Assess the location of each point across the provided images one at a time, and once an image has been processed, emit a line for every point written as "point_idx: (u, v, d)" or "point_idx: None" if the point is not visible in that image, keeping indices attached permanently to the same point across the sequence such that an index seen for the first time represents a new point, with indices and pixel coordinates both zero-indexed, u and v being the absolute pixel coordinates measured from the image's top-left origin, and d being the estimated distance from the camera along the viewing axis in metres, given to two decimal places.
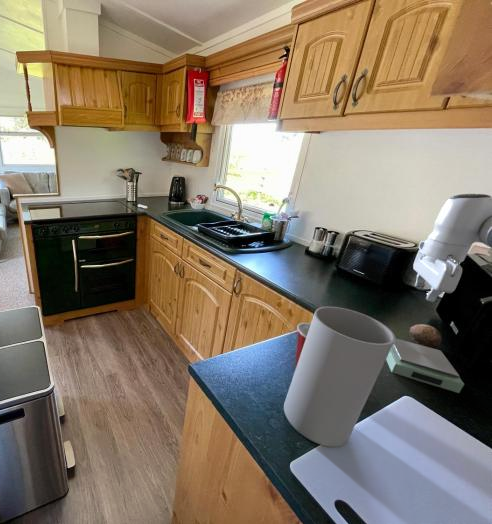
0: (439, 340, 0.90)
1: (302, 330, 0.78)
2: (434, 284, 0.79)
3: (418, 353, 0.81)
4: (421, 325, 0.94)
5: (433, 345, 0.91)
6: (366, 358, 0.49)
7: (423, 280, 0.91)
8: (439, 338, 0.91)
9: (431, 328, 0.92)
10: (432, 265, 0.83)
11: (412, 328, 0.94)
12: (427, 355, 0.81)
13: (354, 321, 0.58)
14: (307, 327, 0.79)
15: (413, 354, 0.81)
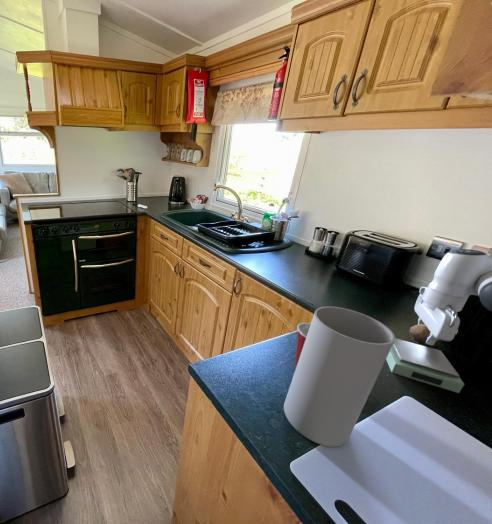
0: (439, 340, 0.90)
1: (302, 330, 0.78)
2: (434, 332, 0.86)
3: (418, 353, 0.81)
4: (421, 325, 0.94)
5: (433, 345, 0.91)
6: (366, 358, 0.49)
7: (424, 324, 0.96)
8: None
9: None
10: (432, 312, 0.90)
11: (412, 328, 0.94)
12: (427, 355, 0.81)
13: (354, 321, 0.59)
14: (307, 327, 0.79)
15: (413, 354, 0.81)
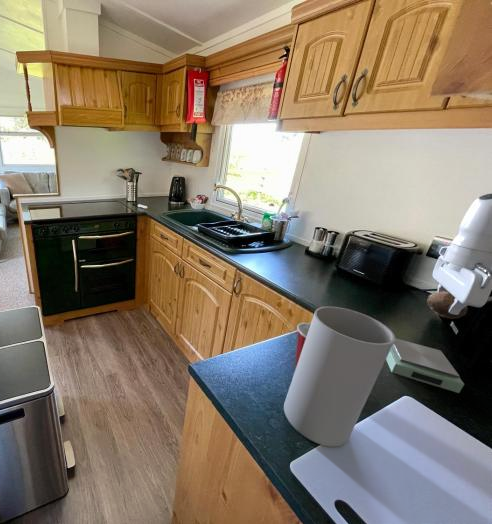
0: (465, 309, 0.74)
1: (302, 330, 0.78)
2: (460, 296, 0.69)
3: (418, 353, 0.81)
4: (442, 292, 0.78)
5: (457, 315, 0.74)
6: (366, 358, 0.49)
7: (445, 291, 0.80)
8: None
9: None
10: (456, 274, 0.73)
11: (431, 296, 0.78)
12: (427, 355, 0.81)
13: (354, 321, 0.59)
14: (307, 327, 0.79)
15: (413, 354, 0.81)
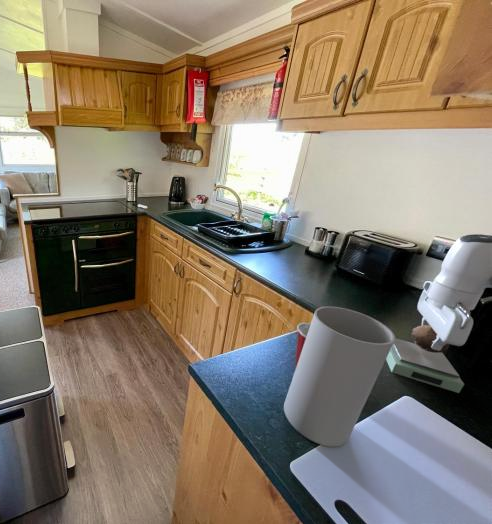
0: (447, 344, 0.76)
1: (302, 330, 0.78)
2: (441, 335, 0.71)
3: (418, 353, 0.81)
4: (426, 326, 0.80)
5: (440, 350, 0.76)
6: (366, 358, 0.49)
7: (429, 325, 0.82)
8: None
9: None
10: (439, 311, 0.75)
11: (415, 330, 0.80)
12: (427, 355, 0.81)
13: (354, 321, 0.59)
14: (307, 327, 0.79)
15: (413, 354, 0.81)
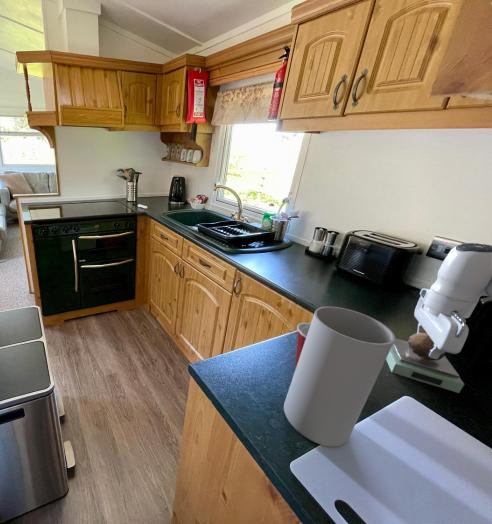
0: None
1: (302, 330, 0.78)
2: (437, 342, 0.72)
3: None
4: (422, 334, 0.81)
5: None
6: (366, 358, 0.49)
7: (425, 330, 0.83)
8: None
9: None
10: (435, 318, 0.76)
11: (411, 338, 0.81)
12: None
13: (354, 321, 0.59)
14: (307, 327, 0.79)
15: (413, 354, 0.81)
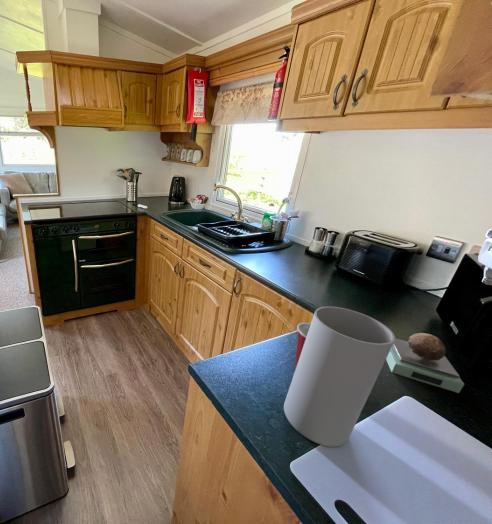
0: (443, 352, 0.77)
1: (302, 330, 0.78)
2: None
3: None
4: (422, 334, 0.81)
5: (436, 358, 0.77)
6: (366, 358, 0.49)
7: None
8: (443, 350, 0.77)
9: (433, 338, 0.79)
10: None
11: (411, 337, 0.81)
12: None
13: (354, 321, 0.59)
14: (307, 327, 0.79)
15: (413, 354, 0.81)
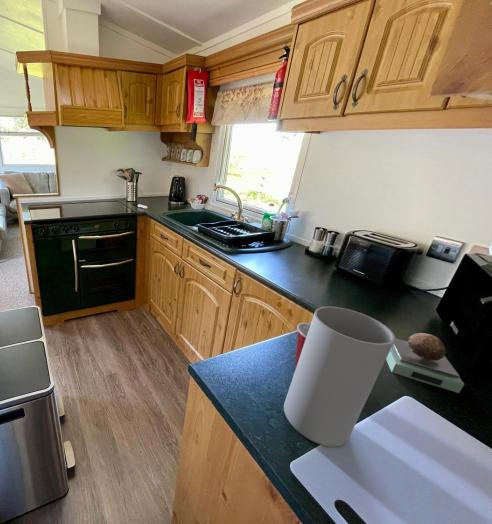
0: (443, 352, 0.77)
1: (302, 330, 0.78)
2: None
3: None
4: (422, 334, 0.81)
5: (436, 358, 0.77)
6: (366, 358, 0.49)
7: None
8: (443, 350, 0.77)
9: (433, 338, 0.79)
10: None
11: (411, 337, 0.81)
12: None
13: (354, 321, 0.59)
14: (307, 327, 0.79)
15: (413, 354, 0.81)
